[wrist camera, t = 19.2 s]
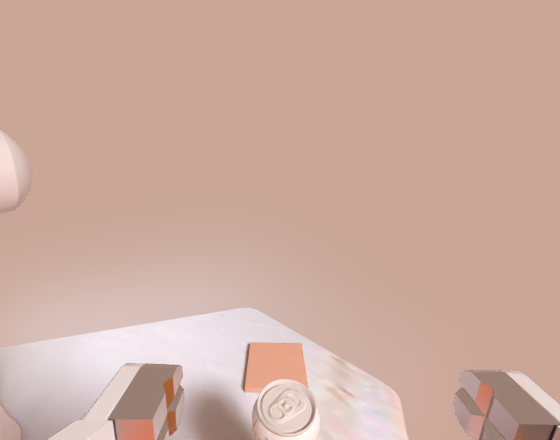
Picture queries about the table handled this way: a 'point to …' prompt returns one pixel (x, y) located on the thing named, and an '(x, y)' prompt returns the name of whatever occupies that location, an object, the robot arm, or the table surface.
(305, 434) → the beer can
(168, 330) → the table surface
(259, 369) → the tile
